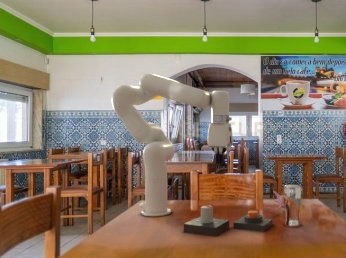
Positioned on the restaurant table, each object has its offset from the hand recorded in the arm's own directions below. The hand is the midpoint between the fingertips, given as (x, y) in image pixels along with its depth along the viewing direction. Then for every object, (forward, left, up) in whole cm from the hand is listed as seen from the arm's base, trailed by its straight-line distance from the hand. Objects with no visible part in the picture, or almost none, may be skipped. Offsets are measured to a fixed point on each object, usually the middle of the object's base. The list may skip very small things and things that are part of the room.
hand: (219, 163), depth 150 cm
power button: (+19, -9, -19) cm, 28 cm away
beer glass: (+32, -1, -23) cm, 39 cm away
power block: (+19, -9, -23) cm, 31 cm away
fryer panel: (+5, -20, -23) cm, 30 cm away
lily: (+24, +14, -23) cm, 36 cm away
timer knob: (+5, -20, -20) cm, 28 cm away
